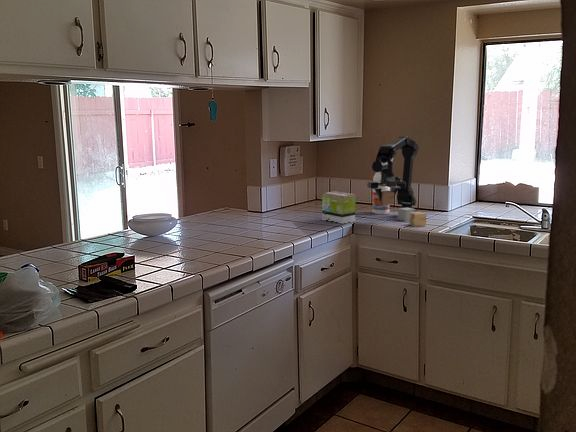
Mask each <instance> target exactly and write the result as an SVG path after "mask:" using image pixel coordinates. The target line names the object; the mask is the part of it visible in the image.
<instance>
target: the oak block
mask: <svg viewBox="0 0 576 432" xmlns="http://www.w3.org/2000/svg"><path fill="white" fill-rule="evenodd" d="M411 224H412V225H411ZM409 225H411V226H413V225H414V226H413V227H426V226H427V213H425V212H422V211H415V212H410V221H409ZM425 225H426V226H425Z"/></svg>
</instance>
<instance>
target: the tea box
mask: <svg viewBox="0 0 576 432" xmlns="http://www.w3.org/2000/svg"><path fill="white" fill-rule="evenodd" d="M321 196H322V197H321V202H322V203H321V205H322V206H321V208H322V209H321V210H322V213H321V217H322V218H321V220H322V221H326V220H328V222H331V221H334V222H333V223H335V222H338V223H337V224H339V223H342V224H341V225H344V224H343V223H346V224H349V223H348V222H351V223H354V221H355V222H356V196H357V195H356V194H355V193H349V192H342V191H337V190H334V191H328V192H322V195H321Z"/></svg>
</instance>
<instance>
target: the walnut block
mask: <svg viewBox="0 0 576 432" xmlns="http://www.w3.org/2000/svg"><path fill="white" fill-rule="evenodd" d="M379 203H380V204H383V205H384V204H390V205H394V204H395V197H394V192H392V191H391V190H390V191H381V202H380V201H379Z"/></svg>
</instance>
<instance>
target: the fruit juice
mask: <svg viewBox="0 0 576 432" xmlns="http://www.w3.org/2000/svg"><path fill="white" fill-rule="evenodd" d="M374 173H375V174H374V176H373V179H372V182H374V181H375V182H378V183H381V182H380V180H381V174H380V172H374ZM380 188H381V189H382V190H381V191H391V187H387V186H380ZM390 205H391V204H384V205H383V204H380V203H379V198H378V196H377V193H376V191H375V189H373V188H372V208H371V209H372V213H373V214H374V213H375V214H374V215H387V214H390Z"/></svg>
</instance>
